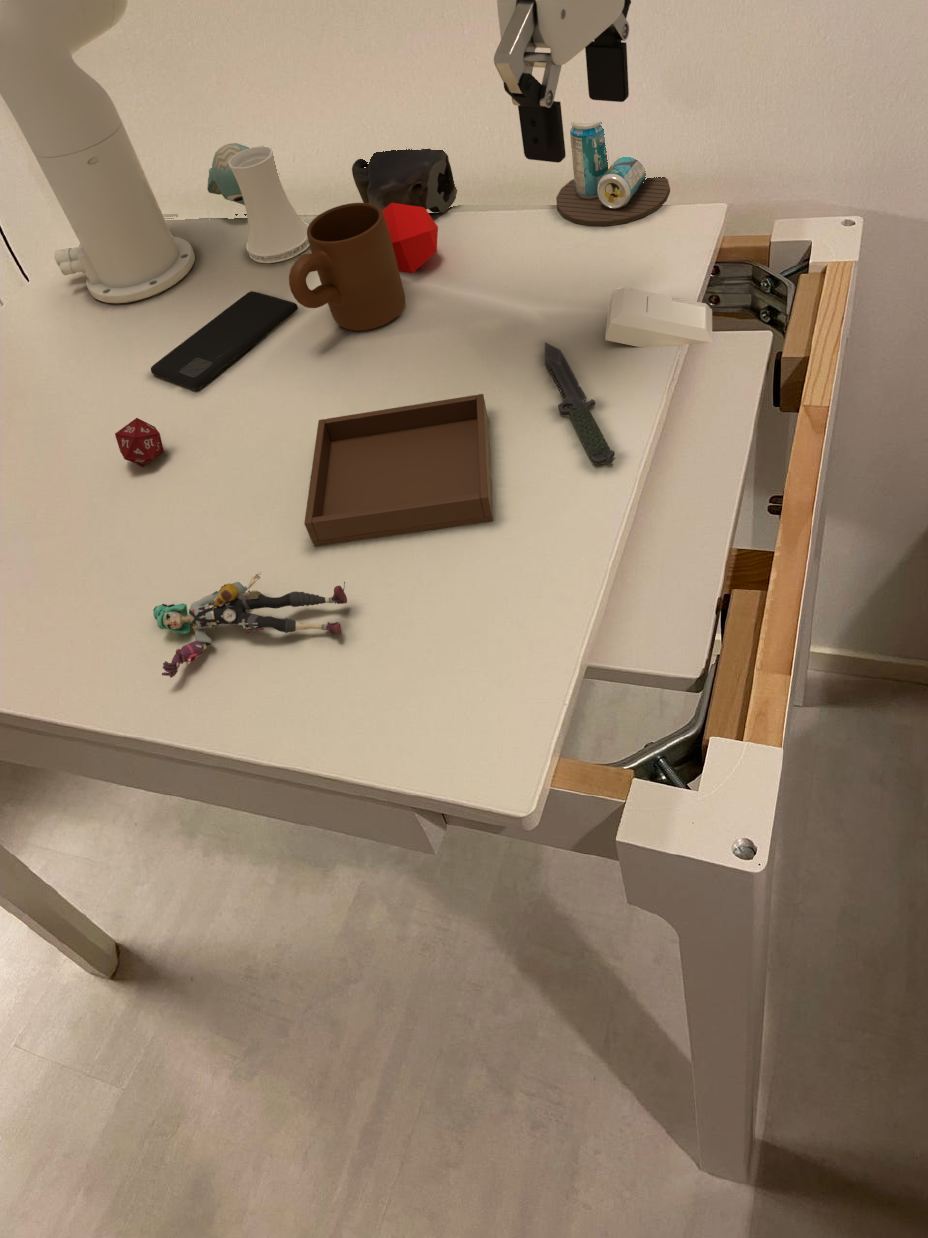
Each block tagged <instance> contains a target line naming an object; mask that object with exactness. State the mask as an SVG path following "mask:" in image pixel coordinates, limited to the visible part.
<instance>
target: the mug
mask: <svg viewBox="0 0 928 1238" xmlns="http://www.w3.org/2000/svg"><path fill="white" fill-rule="evenodd" d="M308 225H309V226H308V228H307V237H308V241H309V245H310V246H309V249H310V253H304V254H301V256H300V257H298V259H296V261H294V263H293V265H292V266H291V267H290V270H289V275H288V285H289V289H290V292H291V294H292V296H293V298H294V299H295V301H296V302H297V303H298V304H300V305H301V306H303V307H304V308H307V309H319V308H321V307H323V306H325V305H328V308H329V311H330V314H331V316H332V318H333V320H334V321H335V323H336V324H337V325H339V326H340V327H341V328H343V329H346V330H349V331H357V332H359V331H360V332H361V331H369V330H373V329H377V328H381V327H383V326H385V325H386V324H388V323H390V322H392V321H393V320H395V319H396V318H397V317H398V316H399V315H400V314H401V313H402V311H403V309H404V307H405V303H406V297H405V296H406V295H405V290H404V286H403V285H404V284H403V282H402V278H401V274H400V273H401V272H399V269H398V265H397V261H396V257H395V253H394V249H393V245H392V241H391V237H390V233H389V230H388V227H387V224H386V221H385V218H384V215H383V212H382V211H381V210H380V208H378V207H377V206H375V205H373V204H369V203H363V202H351V203H345V204H341V205H338V206H335V207H332V208H329V209H327V210H325V211H323V212H322V213H319V214H318V215H317V216H316V217H315V218H313V219H312V220H311V222H310V223H308ZM312 272H317V275H318V278H319V281H320V284H319V285H318V286H316V287H315V288H313V289H311V288H309V286H308V284H307V277H308V275H309V274H310V273H312Z"/></svg>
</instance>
